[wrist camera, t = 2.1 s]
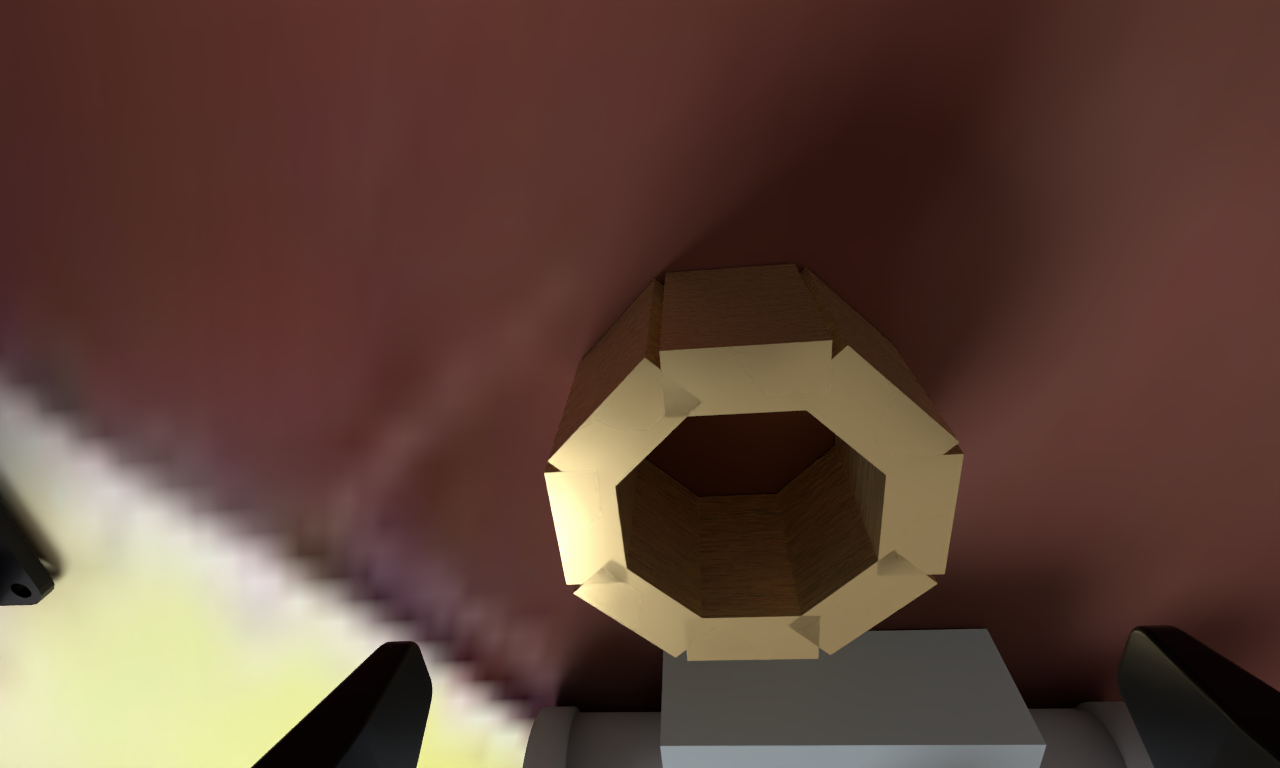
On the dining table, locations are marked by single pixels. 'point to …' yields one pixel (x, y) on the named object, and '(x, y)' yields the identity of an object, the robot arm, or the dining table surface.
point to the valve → (844, 715)
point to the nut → (751, 524)
